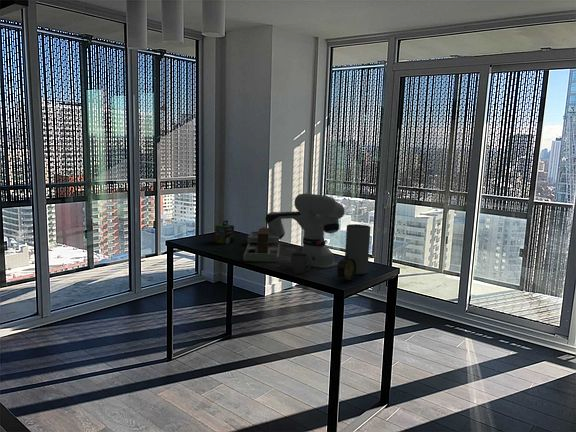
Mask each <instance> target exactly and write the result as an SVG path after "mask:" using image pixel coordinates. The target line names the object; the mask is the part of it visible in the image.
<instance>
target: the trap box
mask: <svg viewBox="0 0 576 432" xmlns="http://www.w3.org/2000/svg"><path fill="white" fill-rule="evenodd" d="M280 246H281V243H280V242H279V243H277V244H268V253H257V249H258V243H248V242H247V246H246V248H245V250H244V253H243V256H242V257H243V258H242V261H245V262H246V261H247V262H264V263H265V262H266V263H267V262H270V263H279V259H280V258H279V257H280ZM250 250H254V252H249V251H250ZM271 251H276V253H271Z"/></svg>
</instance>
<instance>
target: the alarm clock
mask: <svg viewBox="0 0 576 432" xmlns="http://www.w3.org/2000/svg"><path fill="white" fill-rule="evenodd" d="M346 251H348V250H346ZM344 252H345V251H344ZM348 255H349V251H348ZM348 255H346V252H345V253H344V257H343V258H342V259H341V260H339V262H338V265H337V267H336V268H337V275H338V278H340V279H341V281H342V282H341V284H344V281H352V279H354V277H355V272H356V263H355V261H354V260H353V259H350V258H348ZM345 256H346V258H345Z"/></svg>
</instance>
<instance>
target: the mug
mask: <svg viewBox="0 0 576 432" xmlns="http://www.w3.org/2000/svg"><path fill="white" fill-rule="evenodd" d="M307 262H309V265H307ZM290 264H291V268H292V271H293V273H294V274H297V275H300V274H304V273H305V271H309V270H310V269H311V267H312V266H311V260H310V259H308V255H307V254H305V253H302V252H293V253H291V255H290ZM306 267H307V268H306Z"/></svg>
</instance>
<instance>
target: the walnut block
mask: <svg viewBox="0 0 576 432" xmlns="http://www.w3.org/2000/svg"><path fill="white" fill-rule="evenodd" d="M268 237H269V229H260V228H259V229H258V243H257V244H258V249H257V253H268V245H269V243H268Z"/></svg>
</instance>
